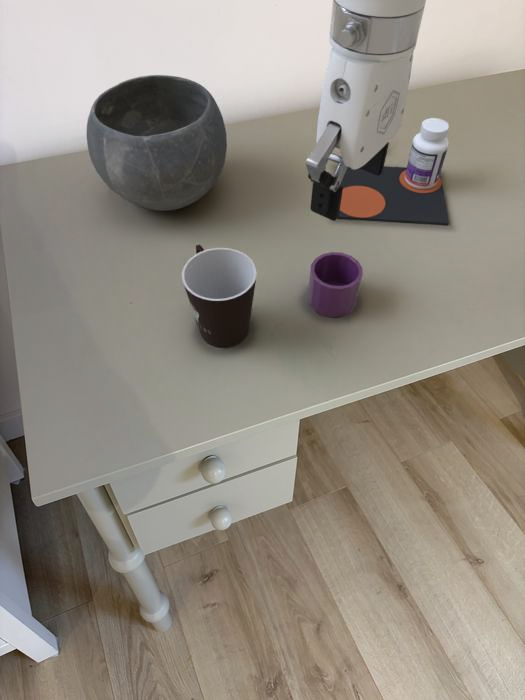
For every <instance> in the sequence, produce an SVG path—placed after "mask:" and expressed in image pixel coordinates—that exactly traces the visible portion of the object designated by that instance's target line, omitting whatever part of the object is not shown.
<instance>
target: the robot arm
mask: <svg viewBox="0 0 525 700" xmlns="http://www.w3.org/2000/svg"><path fill="white" fill-rule="evenodd" d="M426 3H427V0H332V7H331V17H330V25H329V26H330V28H329V36H328V41H329V44H330V46H331V49H330V53H329V58H328V61H327V65H326V66H327V67H326V71H325V75H324V80H323V86H322V92H321V97H320V98H321V99H320V105H319V111H318V117H317V125H316V126H317V127H316V139H315V140H316V142H315V143H316V144H315V146H314V147H313V149H312V151H311V152H310V154H309V155H308V156H307V159H306V161H305V167H306V170H307V174H308V175H307V178H308V179H309V180H310V182H311V183H312V186H311V197H310V198H311V199H310V210H311V212H313V213H315V214H317V215H320V216H322V217H323V218H326V219H328V220H330V221H333V222H335V221H336V220H338V217H339V211H340V205H341V198H342V192H343V187H341V186H340V184H341V181H342V179H343V177H344V175H345V172H346V170H347V168H348V167H350V168H351V169H353V170H355V169H358V168H360V169H362V170H365V171H367V172H369V173H372V174H374V175H377V176H379V175H380V174H381V173H382V172H383V168H384V166H385V163H386V159H387V154H388V149H389V146H390V145H389V144H390V141H391V140H392V139H393V138H394V137H395V136H396V134H397V133H398V132H399V130H400V128H401V126H402V121H403V117H404V112H405V109H406V108H405V107H406V102H407V96H408V91H409V87H410V86H409V85H410V80H411V74H412V67H413V59H414V51H415V50H416V47H417V42H418V36H419V34H420V28H421V24H422V20H423V16H424V11H425V7H426ZM335 148H336V149H339V150H340V154H341V155H339V154H335V153H333V151H334V149H335ZM329 161H331V162H334V163H336V164H337V165H338V164H339V165H338V166H337V168H336V171H335V172H334V175H332V174H331V173H330V172H329V171H327V167H326V166H327V164H328V162H329Z"/></svg>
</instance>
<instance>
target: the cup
mask: <svg viewBox="0 0 525 700" xmlns="http://www.w3.org/2000/svg"><path fill="white" fill-rule="evenodd" d="M363 271H364V269H363V267H362V265H361V263H360V262H359V260H358V259H356V258H355V257H353V256H352V255H350V254H347V253H345V252H336V251H330V252H325V253H322V254H320V255H318V256H316V257H315V258H314V260H313V261H312V262H311V263H310V270H309V281H308V292H307V301H308V304H309V306H310V308H311V309H312V310H313V311H315V312H316V313H317V314H319V315H321V316H324V317H328V318H342V317H345V316H347V315H349V314H350V313H352V312H353V311H354V309H355V308H356V306H357V302H358V299H359V295H360V291H361V285H362V281H363V275H364V274H363Z"/></svg>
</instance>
